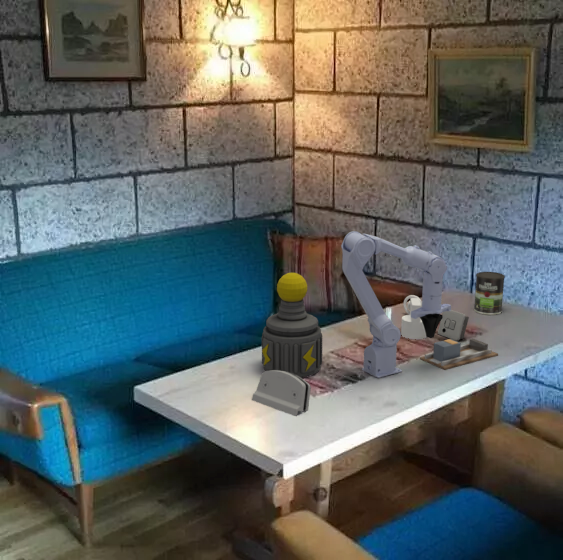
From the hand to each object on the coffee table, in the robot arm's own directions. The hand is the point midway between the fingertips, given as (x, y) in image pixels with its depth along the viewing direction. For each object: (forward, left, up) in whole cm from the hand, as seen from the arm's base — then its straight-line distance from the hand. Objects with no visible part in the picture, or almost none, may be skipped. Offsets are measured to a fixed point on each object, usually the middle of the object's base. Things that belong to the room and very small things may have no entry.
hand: (430, 336), depth 239 cm
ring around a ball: (+30, +41, -10) cm, 52 cm away
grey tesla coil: (-37, +21, -10) cm, 43 cm away
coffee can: (+57, +30, -10) cm, 66 cm away
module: (+7, 0, -8) cm, 11 cm away
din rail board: (+13, 0, -9) cm, 16 cm away
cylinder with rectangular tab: (+15, +24, -10) cm, 30 cm away
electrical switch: (+25, +16, -10) cm, 32 cm away
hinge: (-53, 0, -10) cm, 54 cm away
